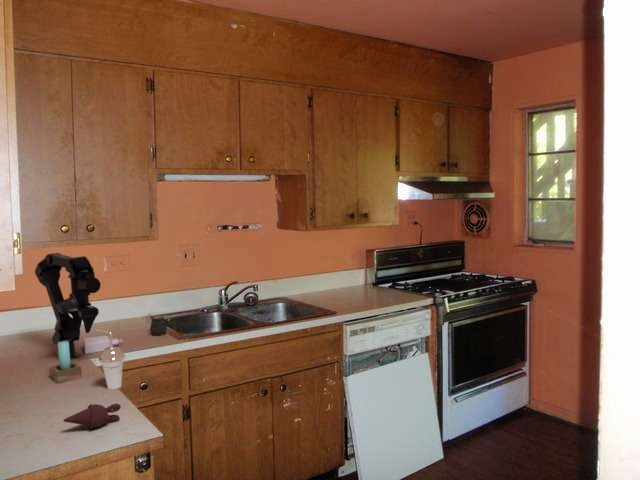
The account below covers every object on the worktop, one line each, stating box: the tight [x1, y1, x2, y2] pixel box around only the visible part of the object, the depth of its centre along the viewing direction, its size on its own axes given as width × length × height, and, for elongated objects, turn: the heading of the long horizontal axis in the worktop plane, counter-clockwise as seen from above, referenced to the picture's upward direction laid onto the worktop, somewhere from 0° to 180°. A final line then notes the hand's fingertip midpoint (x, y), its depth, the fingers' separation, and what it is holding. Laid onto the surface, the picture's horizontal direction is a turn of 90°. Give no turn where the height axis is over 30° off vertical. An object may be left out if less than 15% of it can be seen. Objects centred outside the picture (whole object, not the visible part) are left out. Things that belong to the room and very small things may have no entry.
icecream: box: [63, 403, 122, 430], centre depth 157 cm, size 7×7×15 cm
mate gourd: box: [147, 312, 168, 337], centre depth 249 cm, size 7×8×10 cm
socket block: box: [49, 361, 83, 385], centre depth 197 cm, size 8×8×4 cm
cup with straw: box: [95, 328, 126, 390], centre depth 187 cm, size 8×9×20 cm
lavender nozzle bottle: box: [82, 335, 124, 355], centre depth 231 cm, size 5×9×15 cm
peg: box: [57, 341, 72, 371], centre depth 197 cm, size 4×4×13 cm
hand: (83, 330), depth 210 cm, fingers open, 9 cm apart
